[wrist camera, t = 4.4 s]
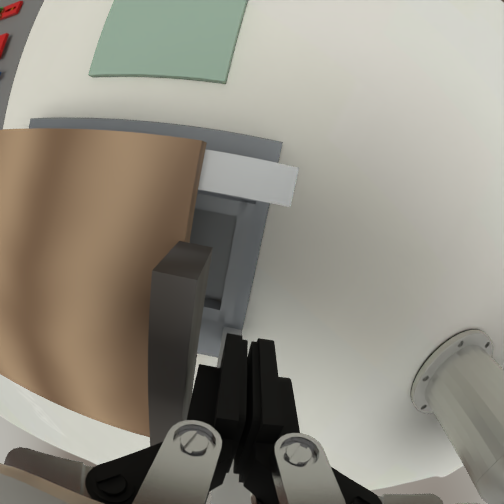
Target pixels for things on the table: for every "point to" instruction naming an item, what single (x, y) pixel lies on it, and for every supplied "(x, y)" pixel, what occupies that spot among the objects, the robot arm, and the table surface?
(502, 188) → the table surface
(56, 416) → the table surface
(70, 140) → the sliding cover
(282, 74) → the table surface
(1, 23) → the gear board
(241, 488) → the travel mug
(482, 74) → the table surface
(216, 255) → the grey frame
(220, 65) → the rubber mat
